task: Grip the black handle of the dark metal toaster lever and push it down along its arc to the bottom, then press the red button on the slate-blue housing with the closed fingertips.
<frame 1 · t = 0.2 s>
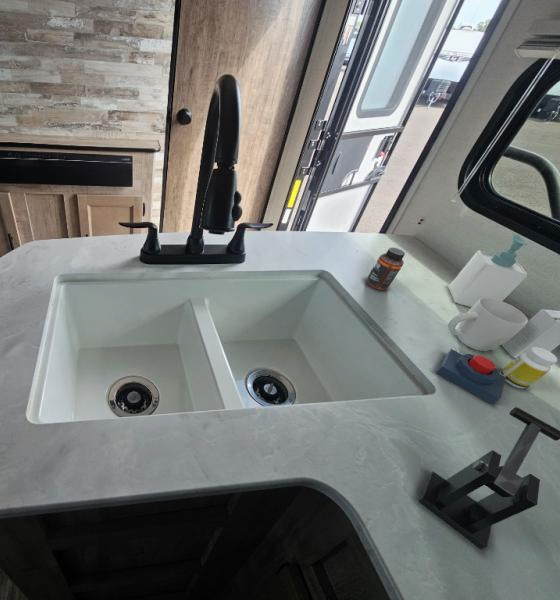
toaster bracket: (452, 509, 49), on the worktop
cosmetic box: (518, 353, 78), on the worktop
supplement bottle 2: (375, 285, 95), on the worktop
lever: (518, 453, 44), point 12 cm above the worktop, hinge at 25.0°
button housing: (466, 378, 70), on the worktop
supplement bottle: (511, 380, 71), on the worktop
button: (481, 364, 67), point 4 cm above the worktop, slide at 0.1 cm
soap bottle: (467, 299, 93), on the worktop
mug: (463, 340, 79), on the worktop
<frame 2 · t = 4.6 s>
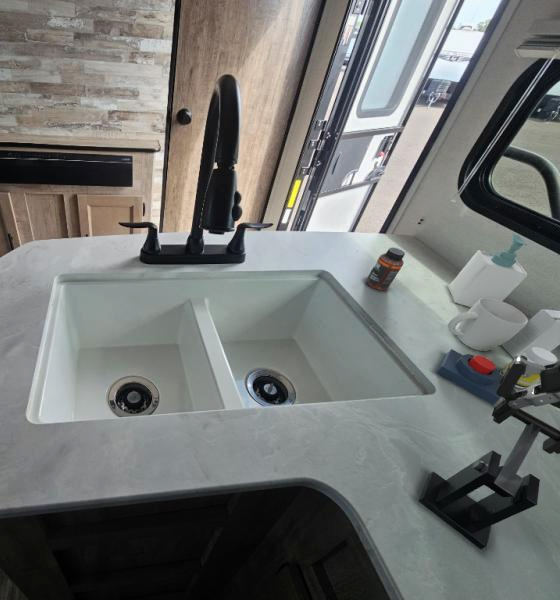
hand: (520, 433, 47), 12 cm above the worktop, tool pointing down, fingers closed on lever, 5 cm apart
lever: (518, 453, 44), point 12 cm above the worktop, hinge at 24.9°, touching gripper
everything else where it was.
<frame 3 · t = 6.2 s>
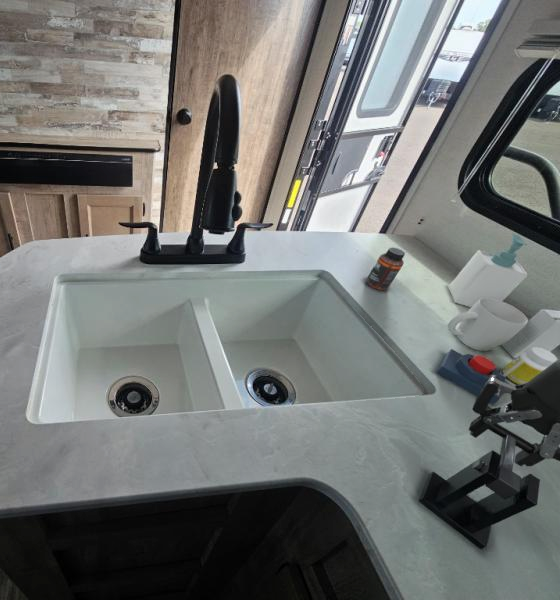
hand: (495, 446, 51), 7 cm above the worktop, tool pointing down, fingers closed on lever, 5 cm apart
lever: (506, 459, 46), point 10 cm above the worktop, hinge at -3.2°, touching gripper
everything else where it was.
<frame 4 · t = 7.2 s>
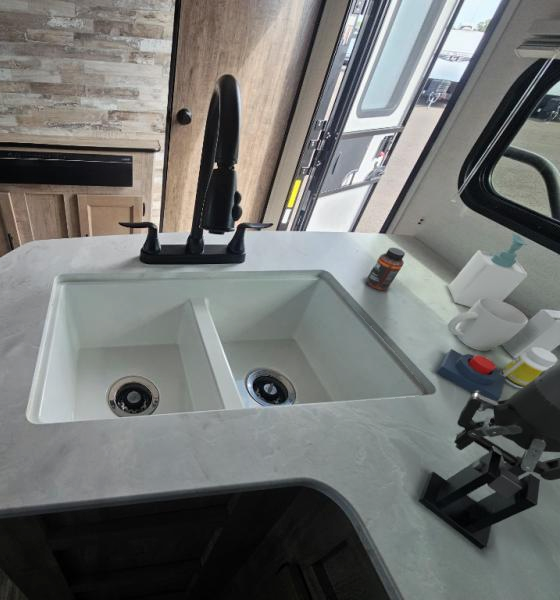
hand: (479, 458, 52), 3 cm above the worktop, tool pointing down, fingers closed on lever, 5 cm apart
lever: (498, 465, 46), point 8 cm above the worktop, hinge at -21.0°, touching gripper
everything else where it was.
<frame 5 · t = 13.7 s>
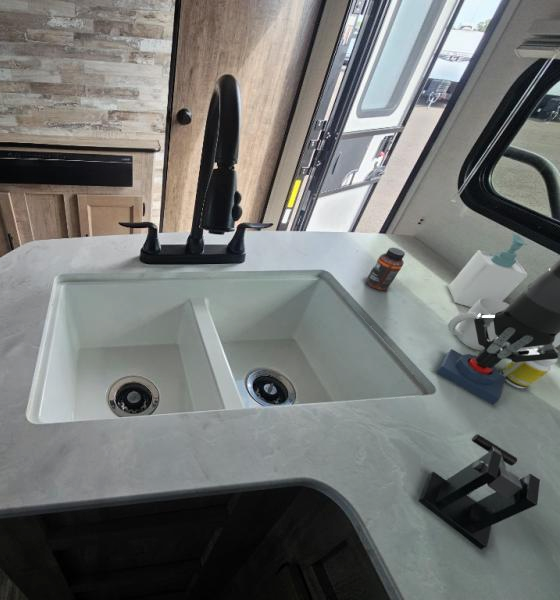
hand: (481, 364, 67), 4 cm above the worktop, tool pointing down, fingers closed
lever: (498, 465, 46), point 8 cm above the worktop, hinge at -21.5°
button: (478, 367, 68), point 4 cm above the worktop, slide at -0.8 cm, touching gripper
everything else where it was.
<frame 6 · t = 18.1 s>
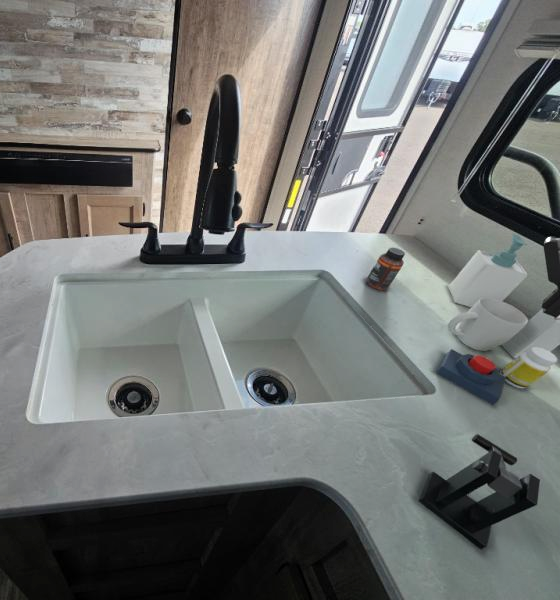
hand: (549, 313, 47), 25 cm above the worktop, tool pointing down, fingers closed
button: (481, 364, 67), point 4 cm above the worktop, slide at 0.1 cm
everything else where it was.
at the end: lever at -22° (first picture: +25°); button pushed in 1.1 cm at the most during the clip, back to where it started at the end; button slide at 0.1 cm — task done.
